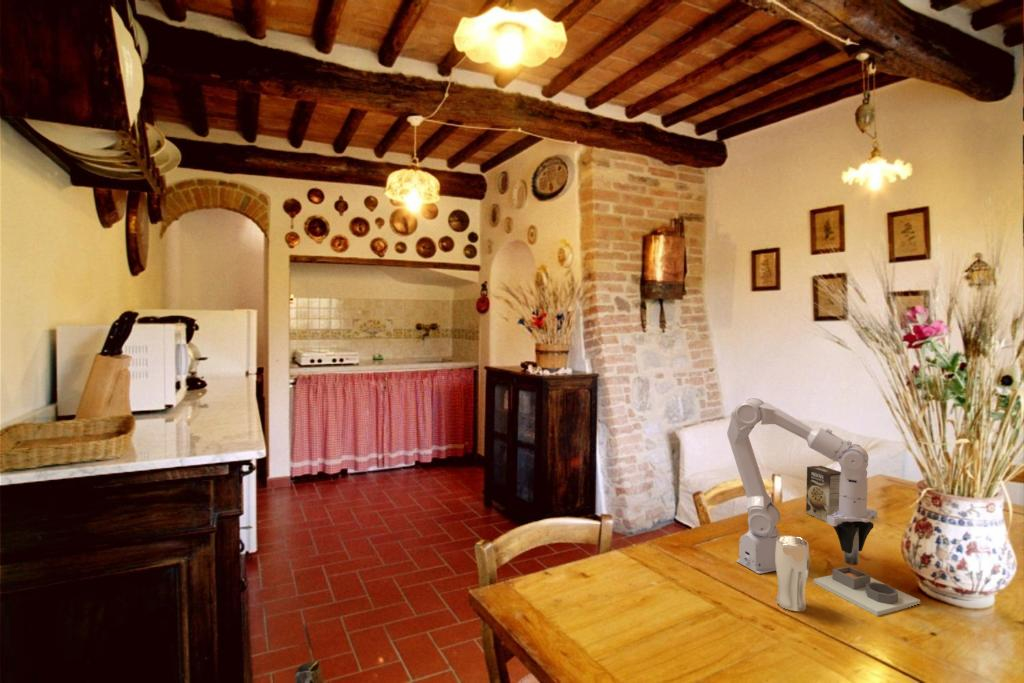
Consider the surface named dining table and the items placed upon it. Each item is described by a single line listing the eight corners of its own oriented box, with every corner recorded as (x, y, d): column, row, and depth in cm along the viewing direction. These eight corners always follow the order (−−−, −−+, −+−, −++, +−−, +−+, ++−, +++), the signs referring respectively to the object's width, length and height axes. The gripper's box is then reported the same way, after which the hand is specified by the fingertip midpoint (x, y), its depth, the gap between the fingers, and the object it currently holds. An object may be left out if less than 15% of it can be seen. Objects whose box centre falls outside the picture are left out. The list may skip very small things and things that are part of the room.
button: (852, 586, 129) (852, 581, 129) (839, 579, 132) (839, 575, 132) (863, 583, 130) (863, 579, 130) (849, 577, 133) (849, 572, 133)
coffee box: (804, 513, 181) (805, 466, 180) (819, 511, 183) (820, 464, 182) (828, 523, 172) (829, 473, 172) (843, 521, 174) (844, 472, 173)
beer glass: (790, 615, 118) (791, 548, 118) (767, 599, 125) (768, 536, 124) (815, 611, 120) (817, 545, 120) (791, 595, 127) (792, 533, 126)
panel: (877, 616, 118) (877, 600, 118) (813, 582, 133) (813, 569, 133) (920, 604, 123) (920, 589, 123) (854, 573, 138) (854, 560, 138)
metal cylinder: (851, 565, 129) (852, 529, 129) (841, 560, 132) (841, 524, 132) (861, 564, 130) (862, 527, 130) (850, 558, 133) (851, 523, 133)
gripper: (846, 504, 124) (845, 562, 125) (890, 497, 129) (888, 552, 130) (819, 495, 131) (818, 550, 131) (862, 488, 136) (860, 541, 136)
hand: (851, 550), depth 131 cm, fingers closed on metal cylinder, 3 cm apart
